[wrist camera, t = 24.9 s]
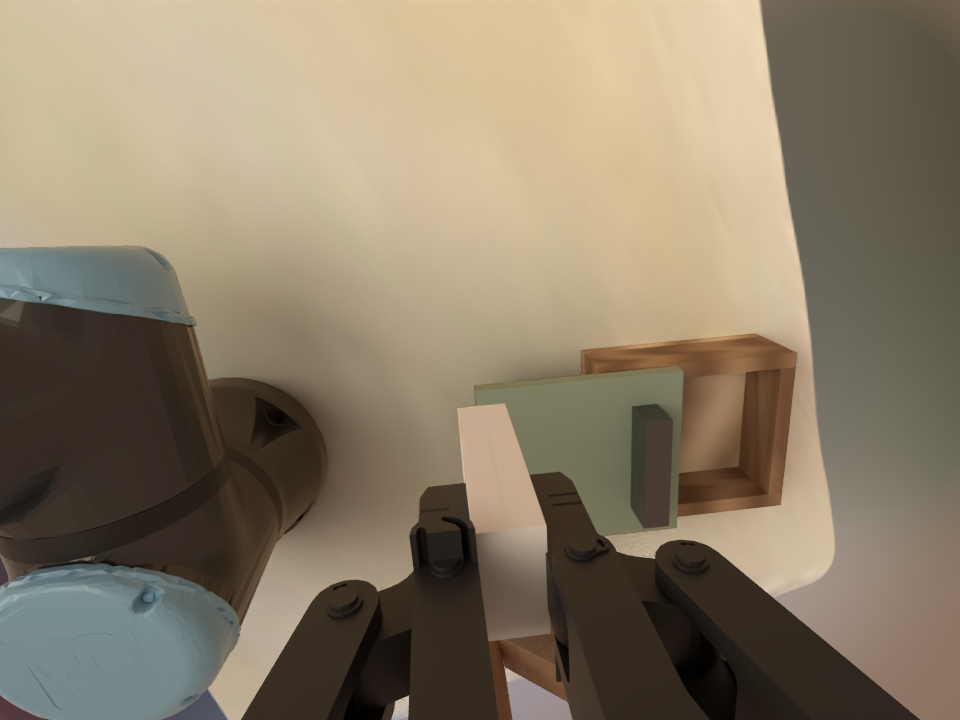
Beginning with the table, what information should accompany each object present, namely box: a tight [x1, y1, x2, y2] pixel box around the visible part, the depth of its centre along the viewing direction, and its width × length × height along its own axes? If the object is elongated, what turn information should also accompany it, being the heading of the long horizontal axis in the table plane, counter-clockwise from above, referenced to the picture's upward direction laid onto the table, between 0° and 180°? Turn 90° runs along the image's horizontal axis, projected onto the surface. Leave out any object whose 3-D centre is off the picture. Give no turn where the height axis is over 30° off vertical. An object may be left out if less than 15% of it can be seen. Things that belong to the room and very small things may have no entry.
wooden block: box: [488, 618, 568, 720], centre depth 48 cm, size 4×11×18 cm, turn 100°
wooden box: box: [581, 334, 797, 517], centre depth 49 cm, size 16×14×6 cm
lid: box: [474, 366, 684, 536], centre depth 43 cm, size 16×14×4 cm
